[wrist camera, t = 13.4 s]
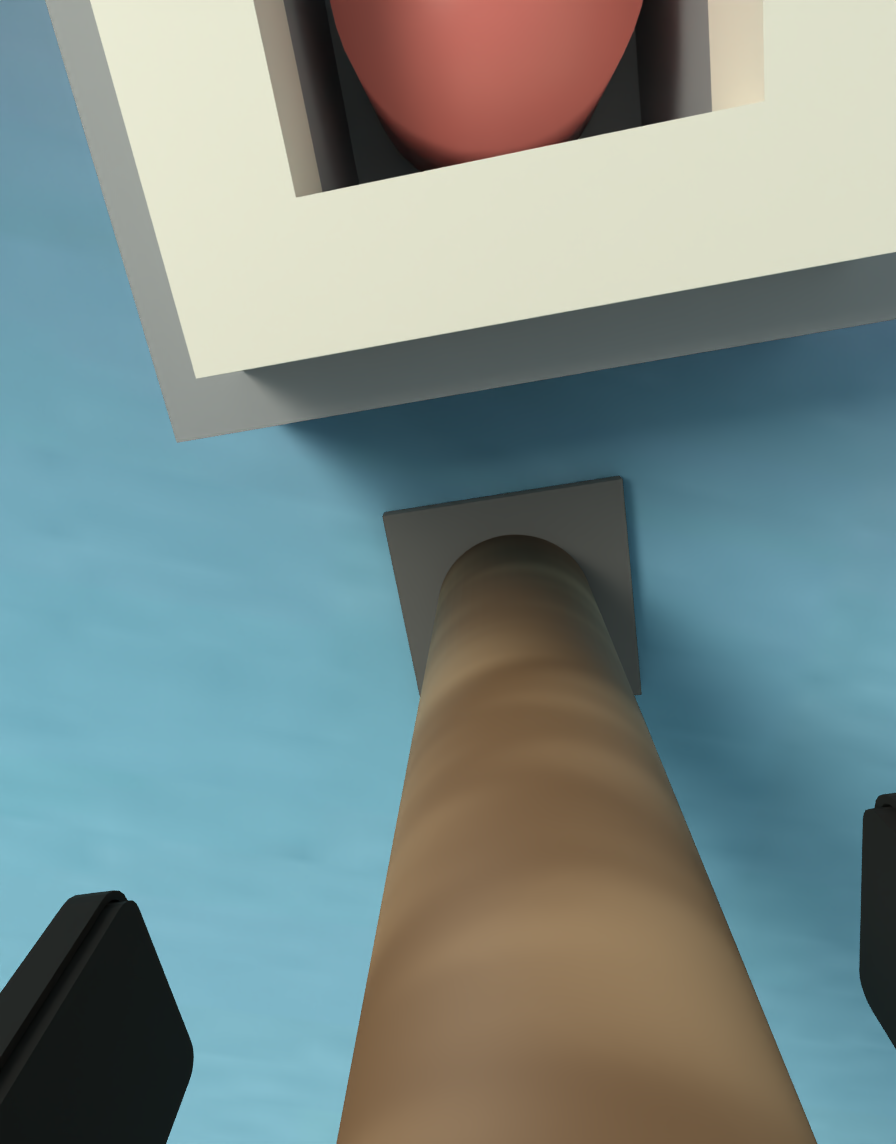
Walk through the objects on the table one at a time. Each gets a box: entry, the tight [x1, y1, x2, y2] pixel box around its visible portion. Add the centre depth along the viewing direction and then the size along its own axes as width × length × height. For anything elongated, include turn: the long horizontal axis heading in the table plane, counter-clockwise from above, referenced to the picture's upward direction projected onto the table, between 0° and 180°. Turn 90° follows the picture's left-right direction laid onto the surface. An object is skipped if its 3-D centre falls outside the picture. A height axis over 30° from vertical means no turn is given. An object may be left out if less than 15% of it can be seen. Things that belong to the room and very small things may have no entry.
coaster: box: [382, 476, 642, 696], centre depth 18 cm, size 6×6×1 cm
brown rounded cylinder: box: [337, 534, 817, 1144], centre depth 11 cm, size 4×4×14 cm
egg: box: [330, 0, 643, 172], centre depth 12 cm, size 5×5×4 cm
